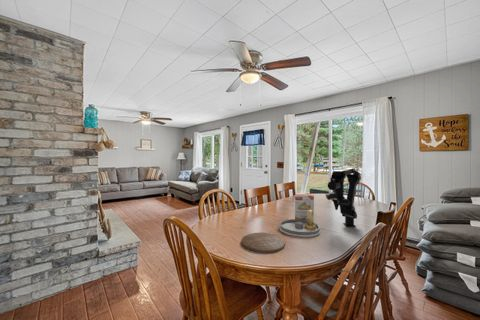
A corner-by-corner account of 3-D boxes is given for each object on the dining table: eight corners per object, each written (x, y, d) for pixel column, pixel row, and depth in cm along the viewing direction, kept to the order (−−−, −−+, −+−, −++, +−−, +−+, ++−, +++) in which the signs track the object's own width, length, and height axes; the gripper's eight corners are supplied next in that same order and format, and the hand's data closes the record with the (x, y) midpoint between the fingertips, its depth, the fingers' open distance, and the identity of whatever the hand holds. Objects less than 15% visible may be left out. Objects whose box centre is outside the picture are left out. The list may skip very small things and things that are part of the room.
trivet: (235, 238, 126) (235, 235, 126) (271, 233, 134) (271, 230, 134) (252, 257, 102) (252, 253, 102) (293, 249, 111) (293, 245, 111)
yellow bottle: (306, 225, 145) (306, 208, 145) (316, 227, 141) (316, 210, 141) (303, 228, 139) (303, 211, 139) (314, 230, 135) (314, 212, 135)
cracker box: (294, 221, 158) (294, 194, 158) (295, 219, 164) (295, 193, 164) (313, 223, 154) (313, 195, 154) (313, 221, 160) (313, 194, 160)
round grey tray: (277, 222, 156) (277, 216, 156) (314, 223, 153) (314, 217, 153) (281, 236, 129) (281, 229, 129) (325, 237, 126) (325, 230, 126)
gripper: (322, 186, 148) (322, 208, 148) (331, 190, 130) (331, 215, 130) (338, 186, 147) (338, 208, 147) (349, 191, 129) (349, 215, 129)
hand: (338, 211), depth 138 cm, fingers open, 9 cm apart
